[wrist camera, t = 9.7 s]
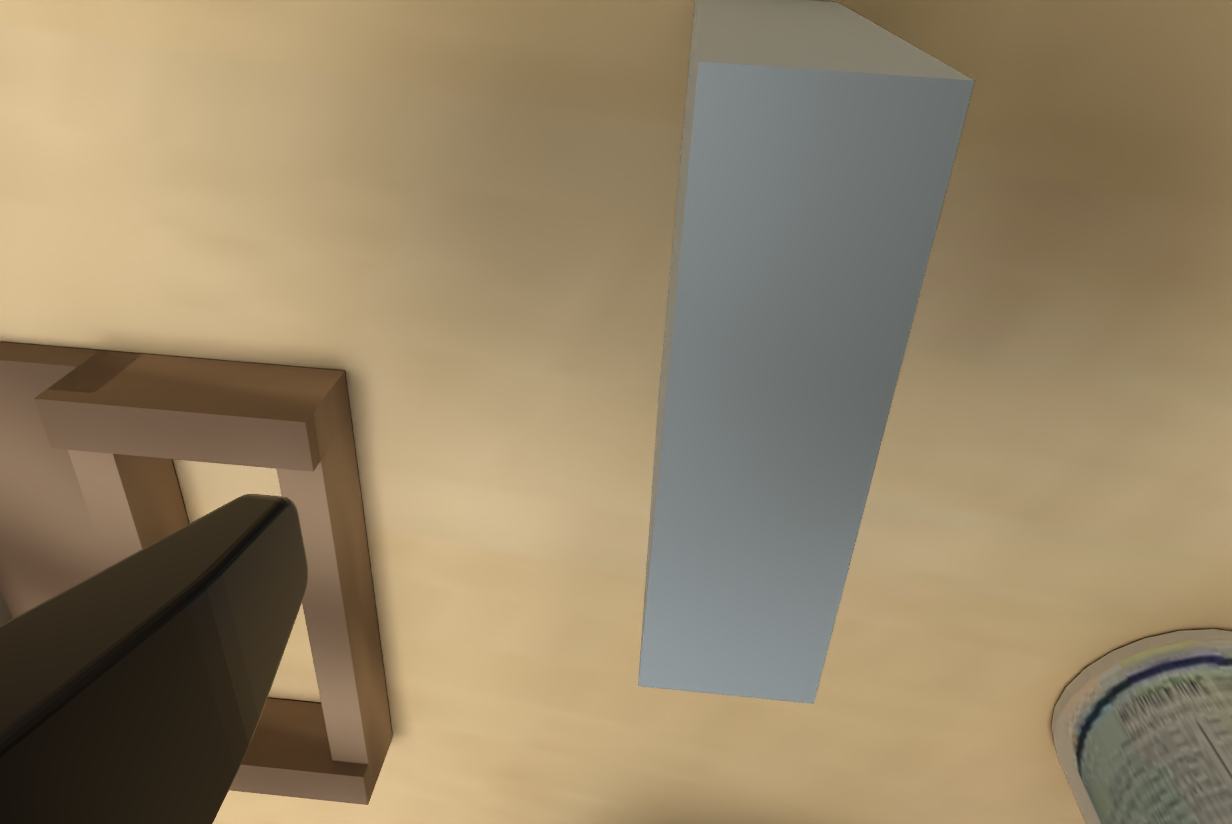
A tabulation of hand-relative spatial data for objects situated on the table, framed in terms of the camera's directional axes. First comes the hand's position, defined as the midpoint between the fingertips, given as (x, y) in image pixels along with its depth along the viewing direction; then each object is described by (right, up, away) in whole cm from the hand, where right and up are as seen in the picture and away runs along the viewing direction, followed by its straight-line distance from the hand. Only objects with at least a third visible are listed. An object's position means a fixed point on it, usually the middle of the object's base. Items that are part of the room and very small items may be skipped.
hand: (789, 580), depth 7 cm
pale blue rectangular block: (+1, +5, +9) cm, 10 cm away
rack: (-15, -2, +15) cm, 21 cm away
